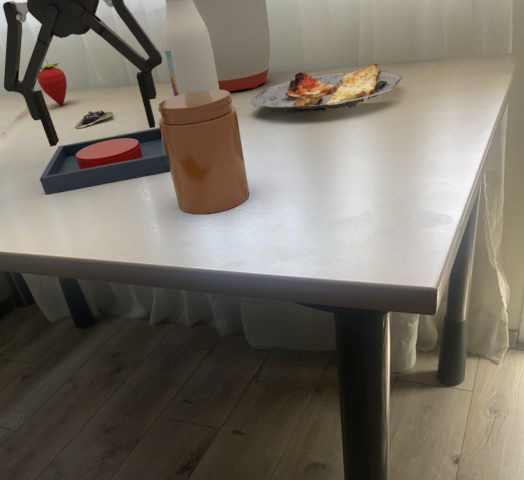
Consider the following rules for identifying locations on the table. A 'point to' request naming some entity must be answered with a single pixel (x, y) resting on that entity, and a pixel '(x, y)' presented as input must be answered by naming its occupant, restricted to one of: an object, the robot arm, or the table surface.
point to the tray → (72, 177)
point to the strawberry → (53, 82)
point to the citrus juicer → (237, 41)
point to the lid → (109, 152)
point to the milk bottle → (188, 49)
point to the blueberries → (93, 118)
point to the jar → (204, 151)
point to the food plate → (327, 90)
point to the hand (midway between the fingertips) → (103, 134)
